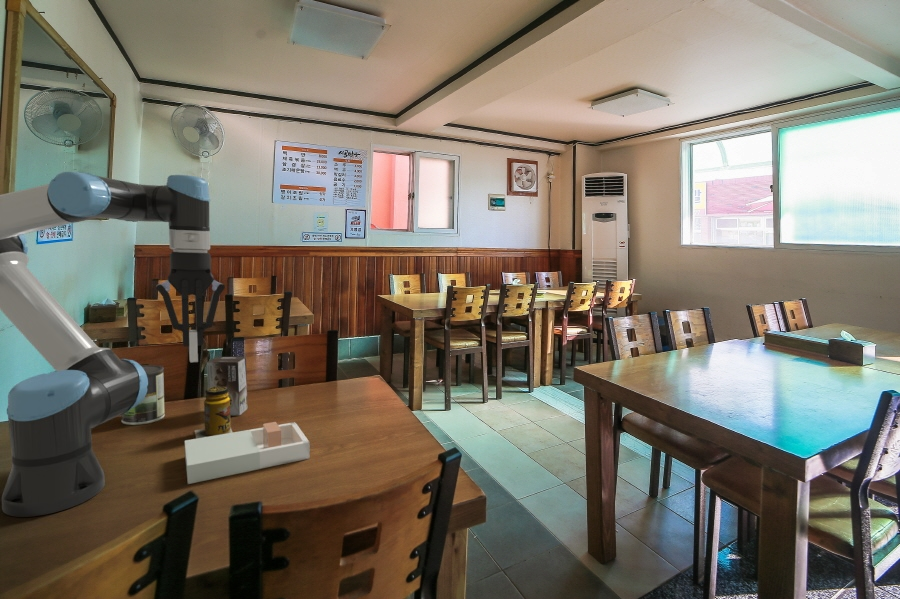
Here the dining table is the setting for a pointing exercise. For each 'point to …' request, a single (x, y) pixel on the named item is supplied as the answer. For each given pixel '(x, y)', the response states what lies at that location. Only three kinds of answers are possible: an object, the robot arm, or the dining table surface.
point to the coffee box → (230, 380)
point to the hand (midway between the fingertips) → (193, 360)
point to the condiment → (216, 413)
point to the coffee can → (149, 399)
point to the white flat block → (221, 456)
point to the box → (283, 446)
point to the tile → (271, 435)
